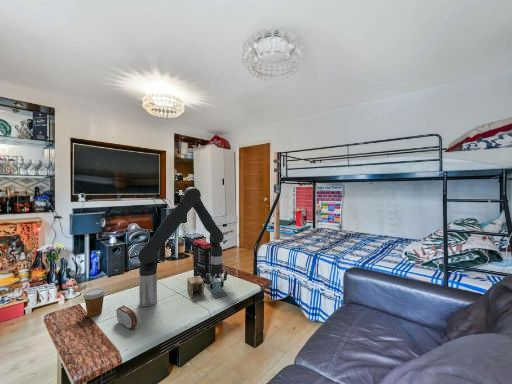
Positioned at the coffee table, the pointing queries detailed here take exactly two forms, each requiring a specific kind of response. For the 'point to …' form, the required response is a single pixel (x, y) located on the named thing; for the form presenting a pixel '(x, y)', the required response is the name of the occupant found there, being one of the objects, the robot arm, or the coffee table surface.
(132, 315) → the brown grey rounded block
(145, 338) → the coffee table surface
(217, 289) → the grey-blue block
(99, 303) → the disposable coffee cup
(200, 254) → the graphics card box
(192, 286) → the sleeve
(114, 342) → the coffee table surface
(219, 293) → the mat
